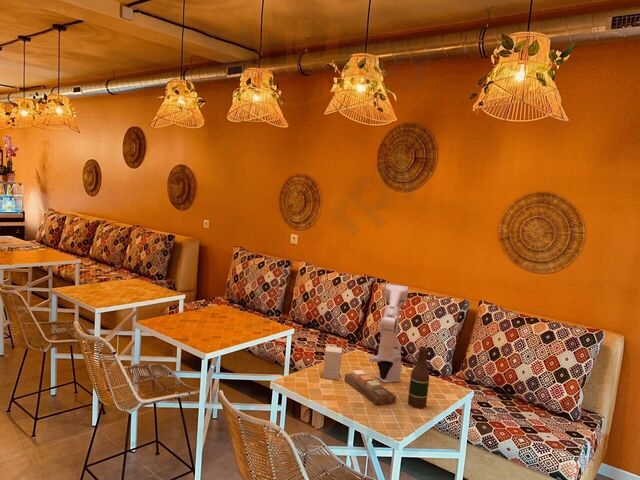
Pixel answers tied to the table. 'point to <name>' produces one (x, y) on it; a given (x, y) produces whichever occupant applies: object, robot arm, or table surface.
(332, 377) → the supplement box
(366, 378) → the key terracotta
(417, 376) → the beer bottle
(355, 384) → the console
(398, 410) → the table surface
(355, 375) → the key ivory
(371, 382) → the key sage
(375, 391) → the key slate
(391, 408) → the table surface
